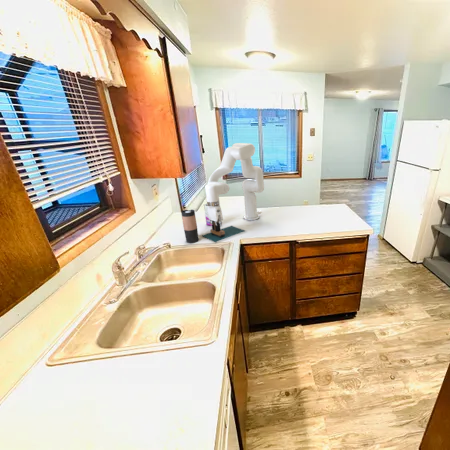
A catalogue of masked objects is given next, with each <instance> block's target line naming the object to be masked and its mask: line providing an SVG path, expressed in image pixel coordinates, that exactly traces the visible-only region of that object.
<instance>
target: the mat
mask: <svg viewBox="0 0 450 450" xmlns="http://www.w3.org/2000/svg"><path fill="white" fill-rule="evenodd" d="M220 230H223V231H224V232H225V236H223V237H221V238H219V237H217V236H214V235H212V234H211V232H209V233H205V234H203V235H201V236H202V237H203V238H205V239H207V240H210V241H211V242H214V243H218V242H219V241H220V242H221V241H222V240H224V239H228V238H230V237H233V236H236V235H238V234H241V233H244V232H245V231H246V230H244V229H242V228H239V227H236V226H234V225H230V226H227V227H224V228H220Z"/></svg>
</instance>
